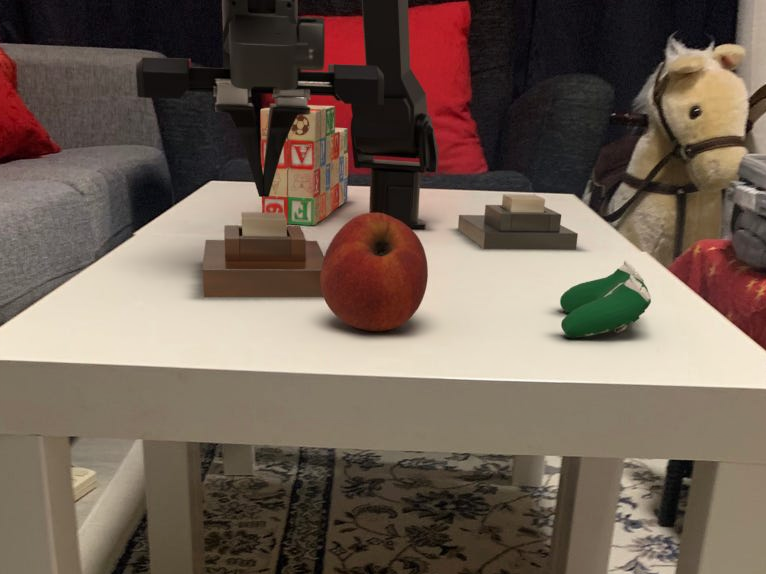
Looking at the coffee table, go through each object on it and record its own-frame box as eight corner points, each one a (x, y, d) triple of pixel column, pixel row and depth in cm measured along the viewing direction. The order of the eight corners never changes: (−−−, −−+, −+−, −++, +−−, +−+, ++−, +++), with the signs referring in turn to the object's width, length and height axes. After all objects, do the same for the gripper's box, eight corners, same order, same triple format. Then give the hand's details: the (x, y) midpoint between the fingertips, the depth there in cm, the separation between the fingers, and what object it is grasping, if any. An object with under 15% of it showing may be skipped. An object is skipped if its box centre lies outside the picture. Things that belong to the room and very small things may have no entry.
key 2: (501, 210, 101) (502, 194, 100) (533, 211, 102) (535, 194, 101) (510, 215, 98) (511, 198, 97) (543, 216, 98) (545, 199, 98)
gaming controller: (590, 367, 66) (662, 312, 63) (556, 326, 65) (628, 269, 63) (586, 333, 74) (649, 284, 72) (555, 297, 73) (619, 246, 71)
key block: (206, 264, 85) (204, 219, 83) (316, 265, 86) (317, 220, 85) (203, 297, 73) (201, 245, 71) (330, 297, 75) (331, 246, 73)
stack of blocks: (302, 199, 127) (302, 100, 122) (348, 201, 126) (350, 103, 121) (261, 222, 107) (259, 106, 102) (314, 225, 107) (315, 109, 101)
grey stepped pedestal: (457, 230, 107) (459, 198, 106) (541, 231, 109) (544, 199, 107) (483, 249, 97) (486, 214, 95) (576, 250, 98) (580, 215, 97)
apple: (314, 340, 63) (314, 218, 60) (326, 312, 70) (327, 202, 67) (424, 345, 63) (430, 223, 59) (425, 317, 70) (431, 206, 66)
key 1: (241, 233, 80) (241, 212, 79) (284, 233, 80) (284, 212, 79) (242, 240, 76) (242, 218, 76) (286, 241, 77) (286, 219, 76)
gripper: (120, -35, 62) (138, 209, 68) (399, -21, 65) (391, 212, 71) (135, -23, 72) (150, 189, 78) (376, -11, 75) (370, 193, 81)
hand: (263, 196), depth 77 cm, fingers closed
